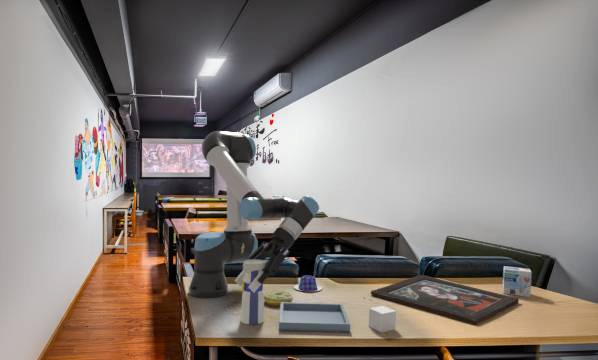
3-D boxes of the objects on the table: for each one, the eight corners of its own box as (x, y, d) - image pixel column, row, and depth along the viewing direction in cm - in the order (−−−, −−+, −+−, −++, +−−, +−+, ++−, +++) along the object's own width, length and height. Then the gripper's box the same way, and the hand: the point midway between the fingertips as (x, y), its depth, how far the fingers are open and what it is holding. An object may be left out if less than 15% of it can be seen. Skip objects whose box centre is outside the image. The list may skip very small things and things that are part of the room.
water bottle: (240, 325, 133) (242, 246, 132) (238, 316, 141) (240, 242, 141) (266, 324, 134) (268, 246, 134) (263, 315, 143) (265, 242, 142)
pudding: (318, 285, 185) (318, 273, 185) (325, 292, 173) (325, 280, 173) (291, 285, 183) (291, 273, 183) (296, 293, 171) (297, 280, 171)
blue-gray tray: (278, 330, 130) (279, 322, 130) (280, 309, 150) (280, 302, 150) (350, 332, 130) (350, 324, 130) (342, 311, 150) (342, 303, 150)
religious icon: (417, 279, 200) (418, 273, 200) (519, 304, 168) (519, 297, 168) (367, 295, 172) (367, 288, 172) (477, 329, 140) (477, 320, 140)
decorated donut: (298, 303, 158) (298, 293, 158) (277, 309, 150) (278, 299, 150) (278, 296, 165) (279, 287, 165) (258, 302, 157) (258, 292, 157)
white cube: (381, 332, 131) (381, 313, 131) (368, 326, 137) (369, 308, 136) (395, 329, 135) (396, 311, 134) (382, 323, 140) (383, 305, 140)
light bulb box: (502, 293, 181) (504, 268, 181) (501, 289, 187) (502, 265, 187) (531, 297, 177) (532, 271, 177) (529, 293, 183) (530, 268, 183)
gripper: (311, 245, 138) (268, 302, 129) (275, 236, 155) (235, 286, 145) (299, 230, 135) (254, 287, 125) (264, 222, 151) (222, 272, 142)
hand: (244, 286), depth 135 cm, fingers closed on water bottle, 8 cm apart
